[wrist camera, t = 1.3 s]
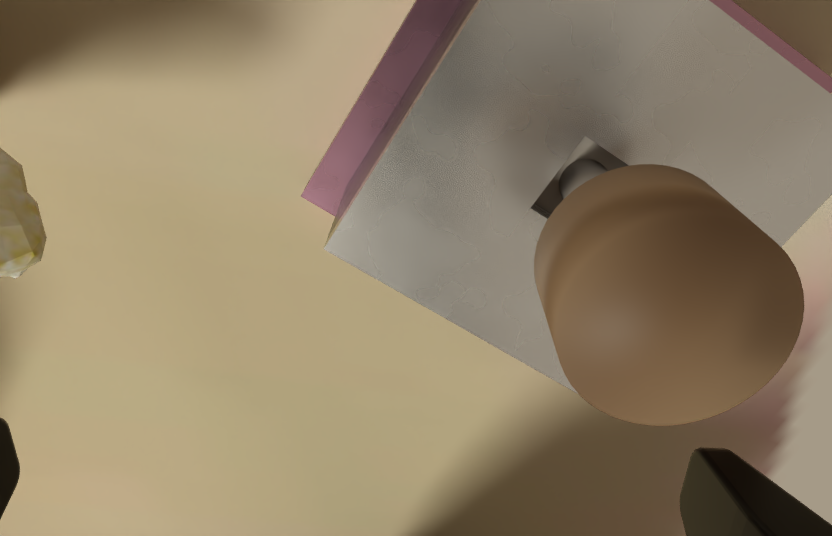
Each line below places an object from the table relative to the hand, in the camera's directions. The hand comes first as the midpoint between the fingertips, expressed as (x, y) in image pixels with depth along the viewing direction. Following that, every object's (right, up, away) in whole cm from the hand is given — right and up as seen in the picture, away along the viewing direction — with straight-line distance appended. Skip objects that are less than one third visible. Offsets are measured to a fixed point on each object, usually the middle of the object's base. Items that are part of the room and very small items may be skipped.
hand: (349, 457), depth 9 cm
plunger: (+5, +5, +8) cm, 10 cm away
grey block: (+5, +7, +11) cm, 14 cm away
